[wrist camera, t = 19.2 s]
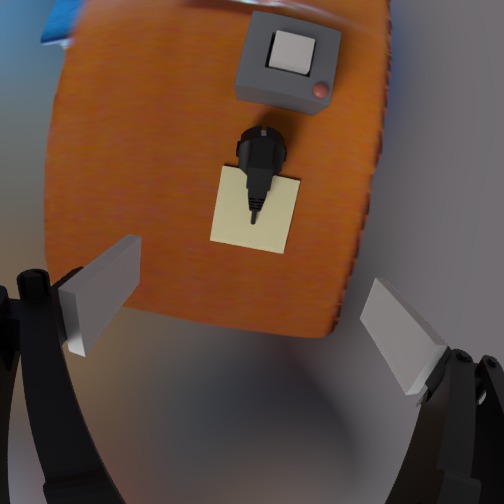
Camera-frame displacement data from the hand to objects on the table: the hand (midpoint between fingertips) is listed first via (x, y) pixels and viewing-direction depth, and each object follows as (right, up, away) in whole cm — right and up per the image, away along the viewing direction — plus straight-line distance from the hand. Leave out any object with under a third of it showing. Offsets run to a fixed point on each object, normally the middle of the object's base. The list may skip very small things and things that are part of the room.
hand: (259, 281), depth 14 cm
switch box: (+4, +25, +16) cm, 30 cm away
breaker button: (+4, +23, +11) cm, 26 cm away
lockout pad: (0, +7, +22) cm, 23 cm away
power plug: (0, +8, +23) cm, 25 cm away
